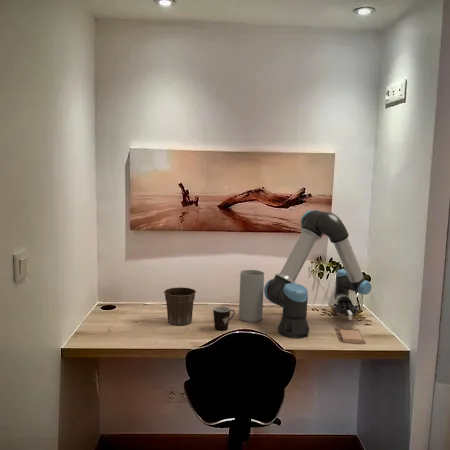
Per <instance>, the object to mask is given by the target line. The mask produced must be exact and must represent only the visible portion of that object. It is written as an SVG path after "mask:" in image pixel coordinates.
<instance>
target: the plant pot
mask: <svg viewBox="0 0 450 450" xmlns="http://www.w3.org/2000/svg"><path fill="white" fill-rule="evenodd" d="M196 293H197V290H195V289H194V288H190V287H171V288H166V289H165V290H164V291H163V294H164V299H165V303H166V314H167V323H168V324H170V325H172V326H179V325H181V326H187V325H189V324H191V323H192V321H193V311H194V301H195V297H196V296H195V295H196Z"/></svg>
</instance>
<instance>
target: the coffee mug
mask: <svg viewBox="0 0 450 450" xmlns="http://www.w3.org/2000/svg"><path fill="white" fill-rule="evenodd" d="M212 309H213V310H212V311H213V321H214V322H213V324H214V330H215V331H217V332H219V331H220V332H224V331H225V332H226V331H228V329H229V322H230V321H231V320H232V319H233V318H234V316H235V313H236V312H235V310H234V309H231V308H230V307H227V306H216V307H214V308H212ZM232 311H233V312H232ZM231 312H232V316H231Z"/></svg>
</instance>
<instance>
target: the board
mask: <svg viewBox="0 0 450 450" xmlns="http://www.w3.org/2000/svg"><path fill="white" fill-rule="evenodd" d="M333 329H334V331H335V333H336V336H337V337H336V338H337V339H338V342H339V343H344V342H343V341H342V339H341V336H340V334H339V329H342V330H356V331H359V333H360V335H361V337H362V339H363V344H364V345H367V343H366V340H365V338H364V336H363V335H362V333H361V331H360V329H358V328H344V327H333ZM359 344H361V343H359ZM361 345H362V344H361Z"/></svg>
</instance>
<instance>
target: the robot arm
mask: <svg viewBox="0 0 450 450" xmlns="http://www.w3.org/2000/svg"><path fill="white" fill-rule="evenodd" d="M300 226H301V227H300V232H301V233H300V235H299V237H298V238H297V241H296V242H295V244H294V246H293V249H292V251H291V252H290V254H289V255H288V258H287V259H286V261H285V263H284V265H283V266H282V269H281V271H280V272H279V273H276V274H275V275H274V278H270V279H269V280H267V282H266V283H265V284H264V291H263V294H264V297H265V298H266V299H267V300H268V301H269V302H270V303H272V304H274V305H277V306H279V307H281V308H282V317H281V319H280V322H279V324H278V328H277V333H278V334H280V335H281V336H283V337H286V338H291V339H302V338H303V339H304V338H307V337H308V336H309V333H310V326H309V324H308V321H307V320H308V319H307V314H308V313H307V312H308V311H307V310H308V299H309V296H308V295H309V294H308V293H309V291H308V289H307V287H305V286H303V285H301V284H300V283H299V284H297V283H296V280H297V278H298V276H299V274H300V272H301V270H302V268H303V267H304V264H305V262H306V261H307V260H308V257H309V255H310V254H311V251H312V249H313V248H314V247H315V244H316V242H318V241H320V240H321V238H322V237H323V235H325V236H327V237H328V239H329V241H330V242H331V243H332V244H333V246H334V248H335V250H336V253H337V255H338V257H339V260H340V262H341V264H342V267H343V268H344V269H338V270H336V275H335V276H336V277H335V291H334V293H333V299H334V300H335V302H336V303H334V304H333V309H334V310H335V311H337V312H338V313H339V314H340V315H344V317H347V318H348V320H349V321H353V317H354V316H356V315H357V312H358V311H359V305H358V304H357V305H354V304H353V302H352V300H351V298H350V291H351V292H355V293H357V294H359V295H364V296H365V295H369V294H370V292H371V291H372V284H371V282H370V281H368V280H366V279H365V277H364V274H363V272H362V270H361V267H360V264H359V262H358V259H357V256H356V255H355V252H354V250H353V247H352V245H351V243H350V239H349V233H348V230H347V228H346V226H345V225H344V223H343V221H342V219H341V218H340V217H339V216H337V214H335V213H333V212H330V211H329V212H327V211H323V210H317V209H311V210H307V211H306V212H305V213H303V215H302V217H301V219H300Z"/></svg>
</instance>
